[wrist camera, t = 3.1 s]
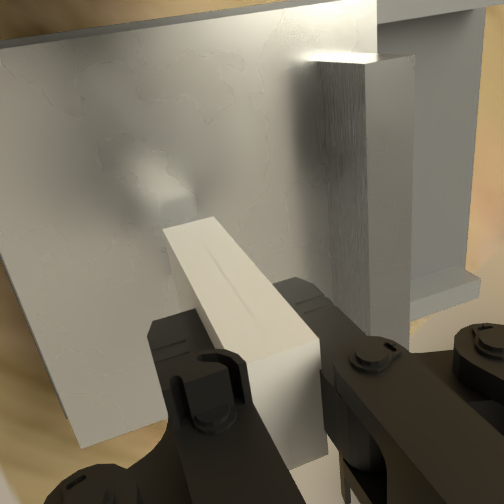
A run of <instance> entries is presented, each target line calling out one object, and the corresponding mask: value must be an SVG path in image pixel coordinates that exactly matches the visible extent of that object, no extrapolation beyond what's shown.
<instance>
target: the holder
mask: <svg viewBox="0 0 504 504" xmlns="http://www.w3.org/2000/svg"><path fill="white" fill-rule="evenodd" d="M334 1H342V0H289V1H282V2H275V3H268V4H260V5H253V6H246V7H239V8H231V9H224V10H217V11H209V12H202V13H195V14H188V15H180V16H173V17H166V18H159V19H151V20H144V21H137V22H130V23H122V24H115V25H108V26H101V27H93V28H86V29H79V30H72V31H64V32H57V33H50V34H42V35H35V36H28V37H21V38H13V39H6V40H0V49H4V48H11V47H18V46H25V45H32V44H39V43H46V42H53V41H60V40H67V39H74V38H81V37H88V36H95V35H102V34H109V33H116V32H123V31H130V30H137V29H144V28H151V27H159V26H166V25H173V24H180V23H187V22H194V21H201V20H208V19H215V18H222V17H229V16H236V15H243V14H250V13H257V12H264V11H271V10H278V9H285V8H292V7H299V6H306V5H313V4H320V3H327V2H334ZM500 4H504V0H377V54H413V55H415V96H414V143H413V189H412V235H411V281H410V322H411V321H413V320H416V319H419V318H422V317H425V316H428V315H431V314H433V313H436V312H439V311H442V310H445V309H448V308H450V307H453V306H456V305H459V304H462V303H465V302H468V301H470V300H473V299H476V298H479V293H480V283H481V278H479V277H477V276H475V275H474V274H472V273H470V272H468V271H467V270H465V264H466V252H467V239H468V227H469V214H470V202H471V189H472V176H473V164H474V151H475V139H476V126H477V114H478V101H479V89H480V76H481V64H482V51H483V38H484V26H485V13H486V7H488V6H494V5H500ZM0 259H1V261H2V264H3V266H4V269H5V271H6V273H7V276H8V278H9V281H10V283H11V286H12V288H13V290H14V293H15V295H16V298H17V300H18V303H19V305H20V307H21V310H22V312H23V315H24V317H25V320H26V322H27V324H28V327H29V329H30V332H31V334H32V337H33V339H34V341H35V344H36V346H37V349H38V351H39V353H40V356H41V358H42V361H43V363H44V366H45V368H46V370H47V373H48V375H49V378H50V380H51V383H52V385H53V387H54V390H55V392H56V395H57V397H58V400H59V402H60V404H61V407H62V409H63V412H64V414H65V417H66V419H68V416H67V414H66V412H65V409H64V407H63V404H62V402H61V399H60V397H59V394H58V392H57V390H56V387H55V385H54V382H53V380H52V377H51V375H50V372H49V370H48V368H47V365H46V363H45V360H44V358H43V355H42V353H41V351H40V348H39V346H38V343H37V341H36V338H35V336H34V333H33V331H32V329H31V326H30V324H29V321H28V319H27V316H26V314H25V311H24V309H23V307H22V304H21V302H20V299H19V297H18V294H17V292H16V290H15V287H14V285H13V282H12V280H11V277H10V275H9V272H8V270H7V268H6V265H5V263H4V260H3V258H2V255H1V253H0Z"/></svg>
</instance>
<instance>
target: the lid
mask: <svg viewBox="0 0 504 504" xmlns="http://www.w3.org/2000/svg"><path fill="white" fill-rule="evenodd" d="M414 96H415V55H413V54H377V0H342V1H334V2H327V3H320V4H313V5H306V6H299V7H292V8H285V9H278V10H271V11H264V12H257V13H250V14H243V15H236V16H229V17H222V18H215V19H208V20H201V21H194V22H187V23H180V24H173V25H166V26H159V27H151V28H144V29H137V30H130V31H123V32H116V33H109V34H102V35H95V36H88V37H81V38H74V39H67V40H60V41H53V42H46V43H39V44H32V45H25V46H18V47H11V48H4V49H0V253H1V255H2V258H3V260H4V263H5V265H6V268H7V270H8V272H9V275H10V277H11V280H12V282H13V285H14V287H15V290H16V292H17V294H18V297H19V299H20V302H21V304H22V307H23V309H24V311H25V314H26V316H27V319H28V321H29V324H30V326H31V329H32V331H33V333H34V336H35V338H36V341H37V343H38V346H39V348H40V351H41V353H42V355H43V358H44V360H45V363H46V365H47V368H48V370H49V372H50V375H51V377H52V380H53V382H54V385H55V387H56V390H57V392H58V394H59V397H60V399H61V402H62V404H63V407H64V409H65V412H66V414H67V416H68V419H69V421H70V424H71V426H72V429H73V431H74V434H75V436H76V438H77V441H78V443H79V446H80V448H81V449H83V448H86V447H89V446H92V445H94V444H97V443H100V442H103V441H106V440H108V439H111V438H114V437H117V436H120V435H122V434H125V433H128V432H131V431H134V430H136V429H139V428H142V427H145V426H148V425H150V424H153V423H156V422H159V421H162V420H164V419H167V418H168V412H167V409H166V405H165V402H164V398H163V394H162V390H161V387H160V383H159V379H158V376H157V372H156V368H155V365H154V361H153V357H152V354H151V350H150V346H149V343H148V339H147V334H148V331H149V329H150V326H151V324H152V321H154V320H158V319H161V318H164V317H168V316H171V315H174V314H178V313H181V308H180V304H179V300H178V295H177V291H176V287H175V282H174V278H173V274H172V269H171V265H170V261H169V256H168V252H167V248H166V243H165V239H164V235H163V230H162V229H165V228H169V227H173V226H177V225H181V224H185V223H189V222H193V221H197V220H201V219H205V218H209V217H213V216H214V218H215V219H216V220H217V221H218V222H219V223H220V224H221V226H222V227H223V228H224V229H225V230H226V231H227V233H228V234H229V235H230V236H231V237H232V238H233V240H234V241H235V242H236V243H237V244H238V245H239V247H240V248H241V249H242V250H243V251H244V252H245V254H246V255H247V256H248V257H249V258H250V259H251V261H252V262H253V263H254V264H255V265H256V266H257V267H258V269H259V270H260V271H261V272H262V273H263V274H264V276H265V277H266V278H267V279H268V280H269V281H270V283H271V284H273V283H276V282H280V281H283V280H286V279H290V278H293V277H298V278H301V279H303V280H306V281H308V282H310V283H313V284H314V285H315V286H316V287H317V288H318V289H319V290H320V291H321V292H322V293H324V295H325V297H328V298H329V299H330V300H331V301H332V302H333V303H334V306H337V307H338V308H339V309H340V310H341V311H342V312H343V313H344V314H345V315H346V316H347V317H348V318H349V319H350V320H352V321H353V322H354V323H355V324H356V325H357V326H358V327H359V328H360V329H361V330H362V331H363V332H364V333H365V334H366V335H367V336H380V337H383V338H387V339H390V340H393V341H395V342H397V343H398V344H400V345H401V346H403V347H405V348H406V349H407V350H408V351H409V328H410V281H411V235H412V189H413V143H414Z"/></svg>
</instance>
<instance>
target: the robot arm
mask: <svg viewBox="0 0 504 504" xmlns="http://www.w3.org/2000/svg"><path fill="white" fill-rule="evenodd" d="M162 230H163V235H164V239H165V243H166V248H167V252H168V256H169V261H170V265H171V269H172V274H173V278H174V282H175V287H176V291H177V295H178V300H179V304H180V308H181V313H178V314H174V315H171V316H168V317H164V318H161V319H158V320H154V321H152V324H151V326H150V329H149V331H148V334H147V339H148V343H149V346H150V350H151V354H152V357H153V361H154V365H155V368H156V372H157V376H158V379H159V383H160V387H161V390H162V394H163V398H164V402H165V405H166V409H167V412H168V424H167V428H166V431H165V433H164V435H163V437H162V439H161V441H160V442H159V443H158V444H157V445H156V446H155V448H154V449H153V450H152V451H151V452H150V453H148V454H147V455H146V456H145V457H143V458H142V459H141V460H139V461H138V462H136V463H135V464H133V465H132V466H131V467H129V468H128V469H125V468H123V467H120V466H118V465H116V464H96V465H93V466H90V467H87V468H84V469H81V470H78V471H77V472H75V473H74V474H72V475H71V476H69V477H68V478H66V479H64V480H63V481H61V483H60V484H59V485H58V486H57V487H56V488H55V489H54V490H53V491H52V492H51V493H50V494H49V495H48V496H47V498H46V500H45V502H44V504H306V503H305V501H304V499H303V497H302V495H301V493H300V491H299V489H298V487H297V485H296V484H295V481H294V480H293V478H292V476H291V474H290V472H289V470H291V469H294V468H296V467H299V466H301V465H303V464H306V463H308V462H311V461H313V460H316V459H318V458H321V457H323V456H325V455H328V443H327V434H328V436H329V437H330V439H331V440H332V442H333V443H334V445H335V446H336V448H337V449H338V451H339V462H340V477H341V492H342V497H343V499H344V502H345V504H350V503H351V495H350V488H351V489H352V491H353V492H354V494H355V496H356V497H357V499H358V500H359V502H360V503H361V504H504V325H500V324H491V323H482V324H472V325H470V326H467V327H465V328H463V329H461V330H460V331H459V332H458V333H457V334H456V335H455V338H454V350H447V351H437V352H427V353H410V352H409V351H408V350H407V349H406V348H405V347H403V346H401V345H400V344H398V343H397V342H395V341H393V340H390V339H387V338H383V337H380V336H367V335H366V334H365V333H364V332H363V331H362V330H361V329H360V328H359V327H358V326H357V325H356V324H355V323H354V322H353V321H352V320H350V319H349V318H348V317H347V316H346V315H345V314H344V313H343V312H342V311H341V310H340V309H339V308H338V307H337V306H334V303H333V302H332V301H331V300H330V299H329V298H328V297H325V295H324V293H322V292H321V291H320V290H319V289H318V288H317V287H316V286H315V285H314V284H313V283H310V282H308V281H306V280H303V279H301V278H298V277H293V278H290V279H286V280H283V281H280V282H276V283H273V284H271V283H270V281H269V280H268V279H267V278H266V277H265V276H264V274H263V273H262V272H261V271H260V270H259V269H258V267H257V266H256V265H255V264H254V263H253V262H252V261H251V259H250V258H249V257H248V256H247V255H246V254H245V252H244V251H243V250H242V249H241V248H240V247H239V245H238V244H237V243H236V242H235V241H234V240H233V238H232V237H231V236H230V235H229V234H228V233H227V231H226V230H225V229H224V228H223V227H222V226H221V224H220V223H219V222H218V221H217V220H216V219H215V218H214V216H213V217H209V218H205V219H201V220H197V221H193V222H189V223H185V224H181V225H177V226H173V227H169V228H165V229H162Z"/></svg>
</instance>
